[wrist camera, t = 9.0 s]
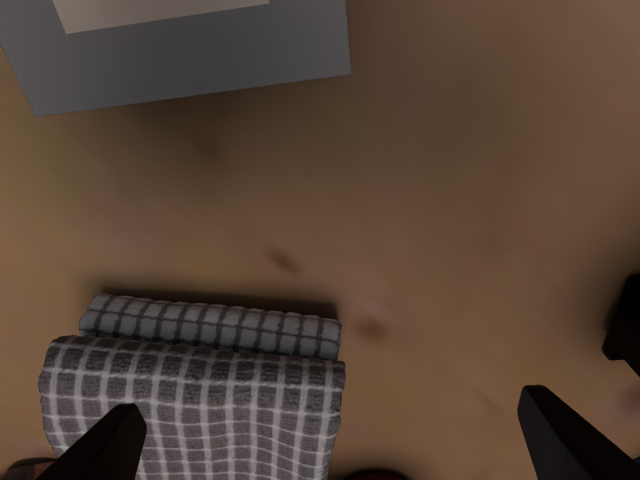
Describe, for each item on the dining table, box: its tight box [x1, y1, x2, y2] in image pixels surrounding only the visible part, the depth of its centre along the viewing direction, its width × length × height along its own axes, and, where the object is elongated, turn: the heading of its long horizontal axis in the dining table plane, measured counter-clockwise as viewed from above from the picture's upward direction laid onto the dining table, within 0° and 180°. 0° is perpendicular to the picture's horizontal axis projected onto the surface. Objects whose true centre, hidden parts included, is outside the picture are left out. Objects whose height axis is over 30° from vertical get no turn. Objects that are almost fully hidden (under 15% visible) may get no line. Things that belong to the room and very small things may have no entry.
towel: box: [37, 293, 346, 480], centre depth 24 cm, size 15×18×8 cm
